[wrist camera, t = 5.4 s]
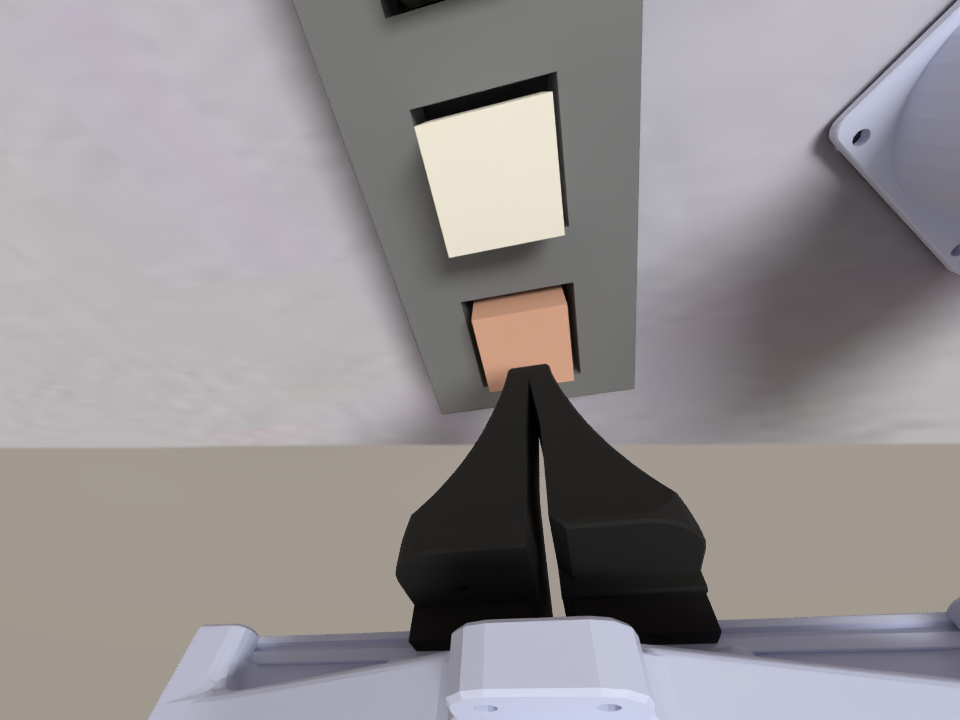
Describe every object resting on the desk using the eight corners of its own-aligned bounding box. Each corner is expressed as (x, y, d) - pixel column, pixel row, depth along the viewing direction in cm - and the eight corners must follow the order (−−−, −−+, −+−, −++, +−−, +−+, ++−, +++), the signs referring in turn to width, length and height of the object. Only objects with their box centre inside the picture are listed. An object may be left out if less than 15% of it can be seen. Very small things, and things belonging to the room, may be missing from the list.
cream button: (552, 210, 14) (564, 235, 11) (457, 229, 14) (448, 258, 12) (541, 91, 12) (552, 91, 9) (430, 120, 12) (414, 126, 10)
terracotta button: (564, 342, 18) (574, 380, 16) (490, 353, 19) (489, 392, 16) (556, 272, 16) (567, 304, 14) (475, 287, 17) (471, 320, 14)
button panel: (619, 357, 19) (634, 388, 17) (448, 382, 21) (442, 414, 19) (615, -401, 8) (655, -565, 6) (243, -237, 9) (173, -328, 7)
